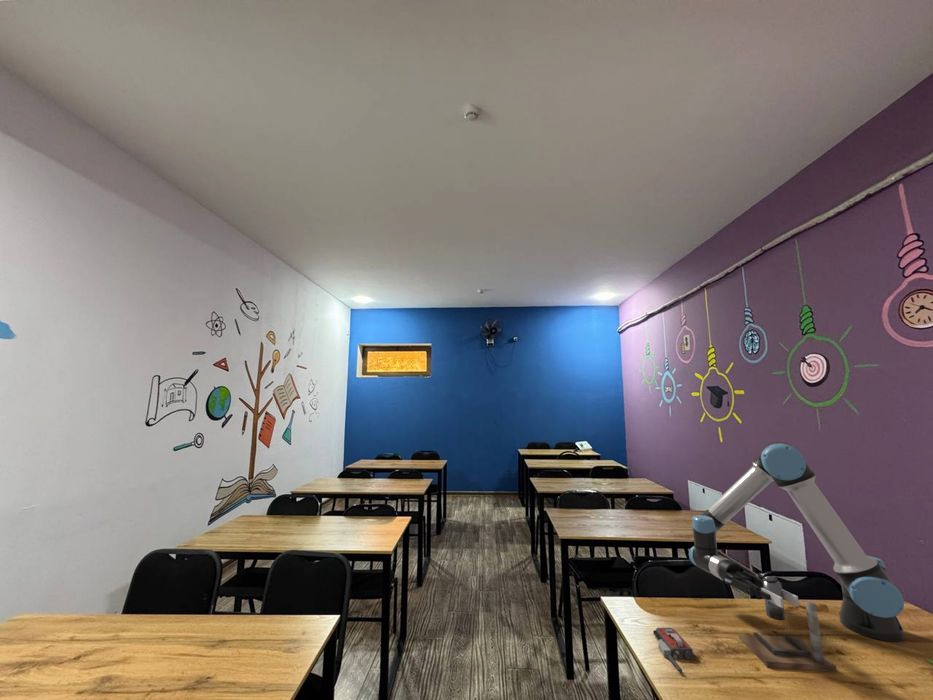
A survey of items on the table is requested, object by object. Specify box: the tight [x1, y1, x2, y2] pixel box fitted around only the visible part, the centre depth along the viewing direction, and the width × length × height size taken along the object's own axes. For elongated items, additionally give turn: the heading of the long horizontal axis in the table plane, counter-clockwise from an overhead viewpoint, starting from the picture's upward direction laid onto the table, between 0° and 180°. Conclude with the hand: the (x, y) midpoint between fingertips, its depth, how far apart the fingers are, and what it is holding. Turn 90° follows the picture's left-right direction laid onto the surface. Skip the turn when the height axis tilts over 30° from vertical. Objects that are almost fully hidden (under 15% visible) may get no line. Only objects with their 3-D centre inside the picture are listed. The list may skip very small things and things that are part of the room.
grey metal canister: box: [763, 575, 786, 622], centre depth 120 cm, size 5×5×12 cm
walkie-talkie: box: [652, 627, 694, 673], centre depth 117 cm, size 9×4×20 cm
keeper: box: [738, 601, 838, 673], centre depth 117 cm, size 19×14×16 cm
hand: (789, 602), depth 115 cm, fingers closed on grey metal canister, 5 cm apart
